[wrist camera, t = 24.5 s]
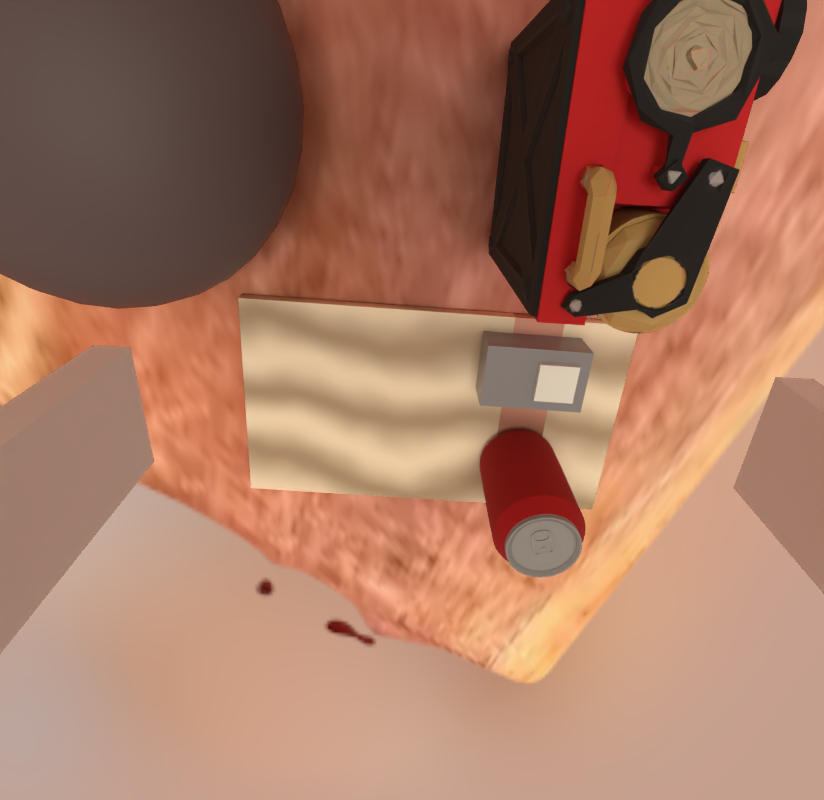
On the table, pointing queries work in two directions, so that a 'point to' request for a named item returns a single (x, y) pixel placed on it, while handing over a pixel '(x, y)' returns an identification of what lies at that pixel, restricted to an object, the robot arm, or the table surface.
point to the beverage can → (530, 505)
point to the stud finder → (533, 371)
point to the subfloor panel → (404, 398)
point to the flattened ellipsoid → (142, 144)
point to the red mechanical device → (628, 150)
